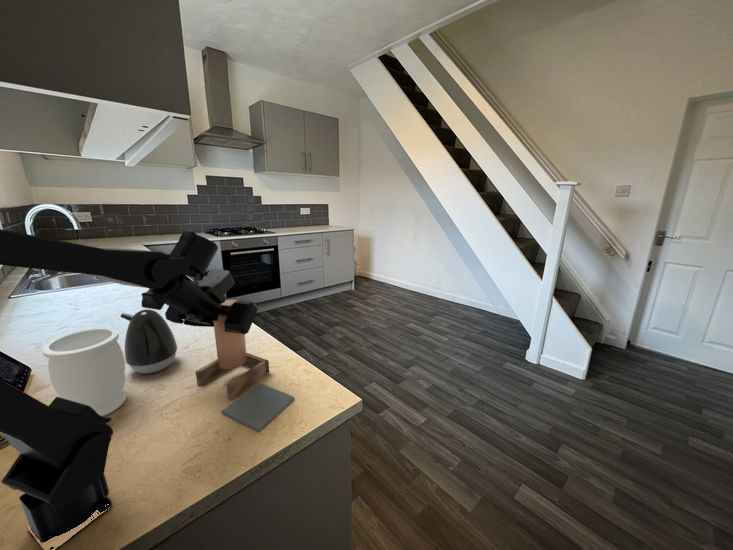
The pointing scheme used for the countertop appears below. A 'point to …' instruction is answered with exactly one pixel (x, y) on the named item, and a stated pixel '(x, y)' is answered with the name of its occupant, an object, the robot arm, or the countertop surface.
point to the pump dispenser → (148, 342)
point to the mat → (258, 406)
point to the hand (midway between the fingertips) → (233, 326)
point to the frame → (241, 383)
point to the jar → (88, 368)
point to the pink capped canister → (229, 344)
